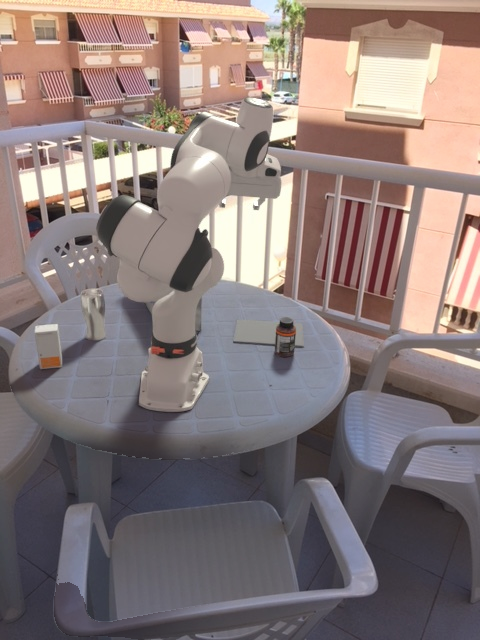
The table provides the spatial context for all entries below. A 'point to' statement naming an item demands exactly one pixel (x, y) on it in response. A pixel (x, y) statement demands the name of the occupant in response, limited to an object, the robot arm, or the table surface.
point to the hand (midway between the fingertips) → (238, 207)
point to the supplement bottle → (285, 337)
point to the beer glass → (94, 313)
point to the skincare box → (48, 346)
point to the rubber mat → (262, 332)
